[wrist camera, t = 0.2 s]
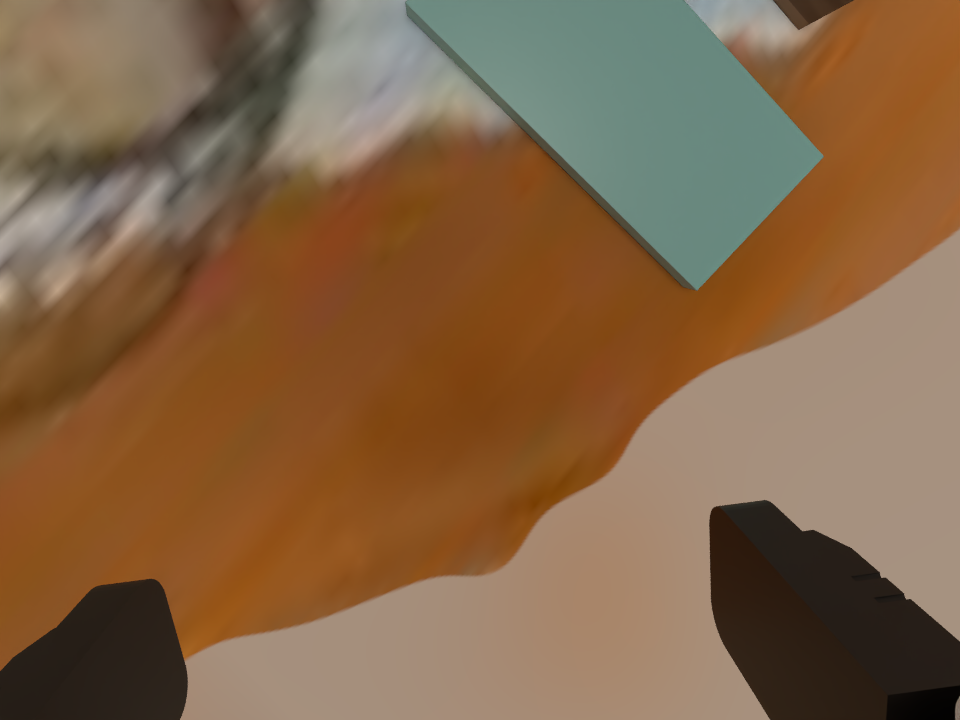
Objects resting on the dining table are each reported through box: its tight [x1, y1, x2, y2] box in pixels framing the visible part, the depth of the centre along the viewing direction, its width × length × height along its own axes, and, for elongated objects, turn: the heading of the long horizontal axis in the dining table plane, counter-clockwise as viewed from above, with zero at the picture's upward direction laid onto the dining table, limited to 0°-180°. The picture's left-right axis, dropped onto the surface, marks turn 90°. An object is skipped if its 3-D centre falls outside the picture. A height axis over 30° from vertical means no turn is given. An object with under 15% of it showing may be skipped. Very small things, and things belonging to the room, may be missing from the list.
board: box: [405, 0, 824, 290], centre depth 34 cm, size 10×22×2 cm, turn 48°
